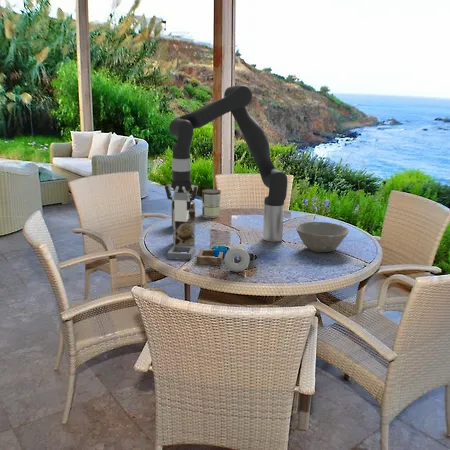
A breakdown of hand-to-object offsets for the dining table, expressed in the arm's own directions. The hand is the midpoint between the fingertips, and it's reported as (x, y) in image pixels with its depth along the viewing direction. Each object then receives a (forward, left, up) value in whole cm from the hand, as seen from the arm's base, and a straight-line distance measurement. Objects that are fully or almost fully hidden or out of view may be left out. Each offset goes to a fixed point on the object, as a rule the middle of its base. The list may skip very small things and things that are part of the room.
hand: (181, 209), depth 207 cm
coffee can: (-3, -68, -20) cm, 71 cm away
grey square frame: (0, 0, -20) cm, 20 cm away
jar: (+8, -44, -20) cm, 49 cm away
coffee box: (+2, -15, -20) cm, 25 cm away
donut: (-25, +15, -20) cm, 36 cm away
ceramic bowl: (-60, -18, -20) cm, 66 cm away
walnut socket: (-13, +4, -20) cm, 24 cm away
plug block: (0, 0, -4) cm, 4 cm away
